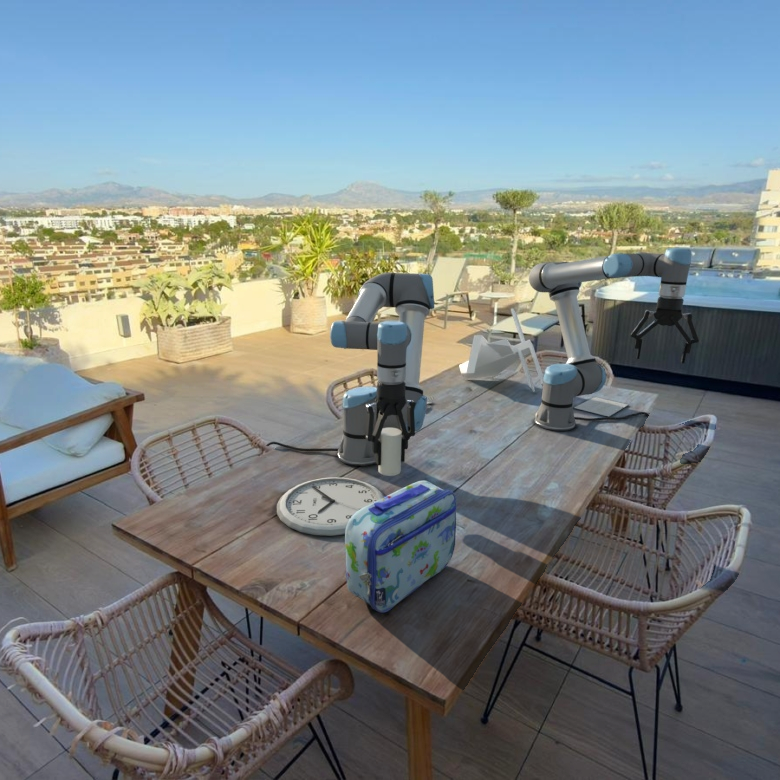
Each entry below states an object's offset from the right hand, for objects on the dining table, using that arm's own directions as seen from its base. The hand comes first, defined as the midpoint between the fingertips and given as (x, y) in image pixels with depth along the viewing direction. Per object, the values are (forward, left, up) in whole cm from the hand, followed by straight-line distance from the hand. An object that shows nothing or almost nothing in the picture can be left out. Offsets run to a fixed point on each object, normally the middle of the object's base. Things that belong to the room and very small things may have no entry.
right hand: (659, 360), depth 177 cm
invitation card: (+4, -42, -31) cm, 52 cm away
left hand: (+86, +51, -20) cm, 102 cm away
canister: (+86, +51, -23) cm, 102 cm away
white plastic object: (+47, -66, -31) cm, 86 cm away
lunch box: (+79, +87, -31) cm, 121 cm away
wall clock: (+101, +57, -31) cm, 120 cm away
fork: (+80, -30, -31) cm, 90 cm away
